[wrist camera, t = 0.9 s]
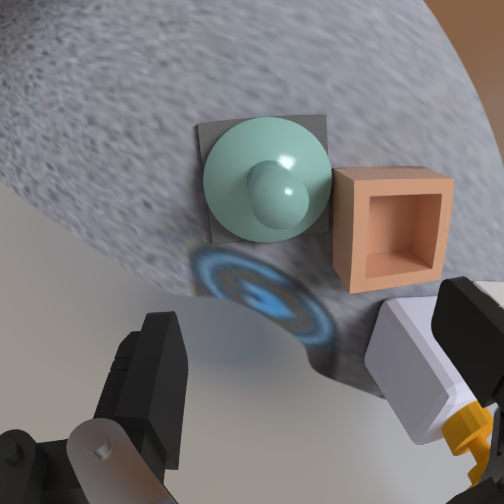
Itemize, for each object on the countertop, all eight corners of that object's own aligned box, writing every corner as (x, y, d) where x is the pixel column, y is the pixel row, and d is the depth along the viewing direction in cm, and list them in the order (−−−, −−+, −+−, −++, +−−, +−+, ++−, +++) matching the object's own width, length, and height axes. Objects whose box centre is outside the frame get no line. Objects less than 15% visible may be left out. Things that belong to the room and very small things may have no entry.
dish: (332, 168, 25) (354, 180, 21) (422, 166, 25) (454, 178, 21) (332, 265, 29) (349, 293, 24) (414, 255, 29) (440, 279, 24)
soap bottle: (446, 350, 35) (526, 474, 15) (357, 361, 34) (425, 529, 14) (471, 289, 32) (583, 412, 11) (379, 292, 30) (495, 477, 10)
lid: (197, 123, 23) (184, 125, 16) (325, 114, 23) (359, 115, 16) (212, 243, 27) (206, 285, 20) (328, 232, 27) (356, 269, 21)
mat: (198, 123, 23) (197, 123, 23) (324, 114, 23) (325, 114, 23) (212, 242, 27) (212, 243, 27) (327, 230, 27) (328, 232, 27)
